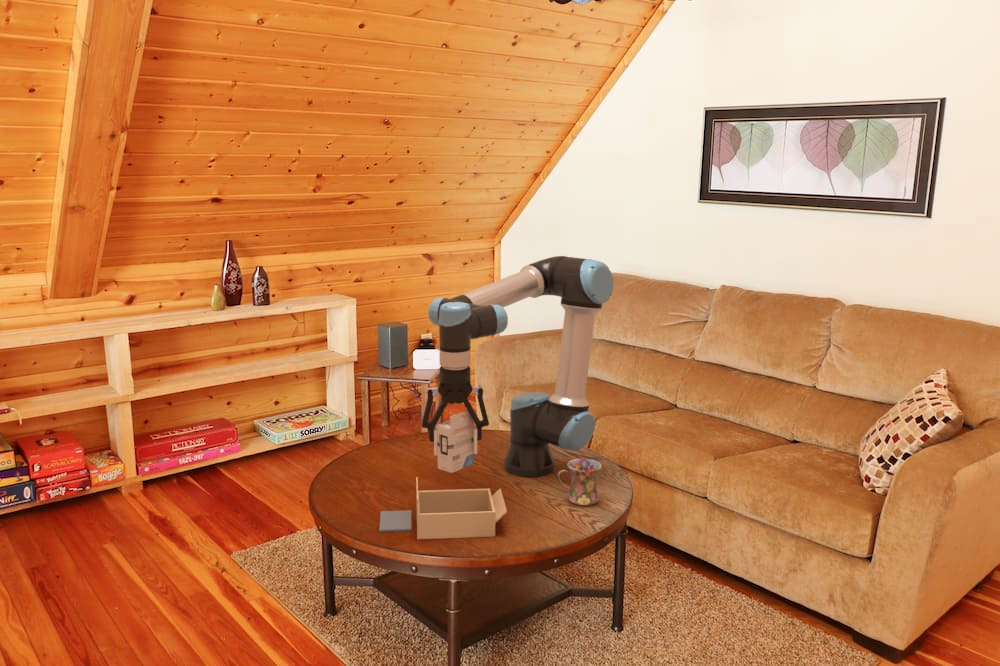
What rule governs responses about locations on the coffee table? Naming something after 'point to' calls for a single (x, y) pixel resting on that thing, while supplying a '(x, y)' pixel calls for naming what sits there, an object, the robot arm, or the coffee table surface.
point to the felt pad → (395, 521)
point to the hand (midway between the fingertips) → (455, 452)
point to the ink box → (455, 443)
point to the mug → (582, 481)
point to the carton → (458, 513)
